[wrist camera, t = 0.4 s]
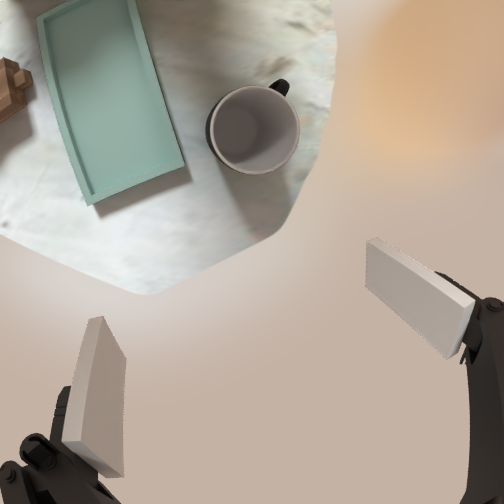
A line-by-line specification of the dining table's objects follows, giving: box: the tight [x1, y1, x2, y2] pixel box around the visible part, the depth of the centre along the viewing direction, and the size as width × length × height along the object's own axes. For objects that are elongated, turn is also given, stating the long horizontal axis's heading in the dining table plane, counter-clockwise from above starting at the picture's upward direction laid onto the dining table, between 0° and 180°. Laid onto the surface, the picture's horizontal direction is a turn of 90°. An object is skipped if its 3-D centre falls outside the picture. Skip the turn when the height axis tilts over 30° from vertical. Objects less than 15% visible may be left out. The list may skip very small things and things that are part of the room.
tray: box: [36, 0, 185, 206], centre depth 27 cm, size 28×13×2 cm, turn 18°
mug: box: [206, 79, 300, 175], centre depth 30 cm, size 12×9×10 cm
